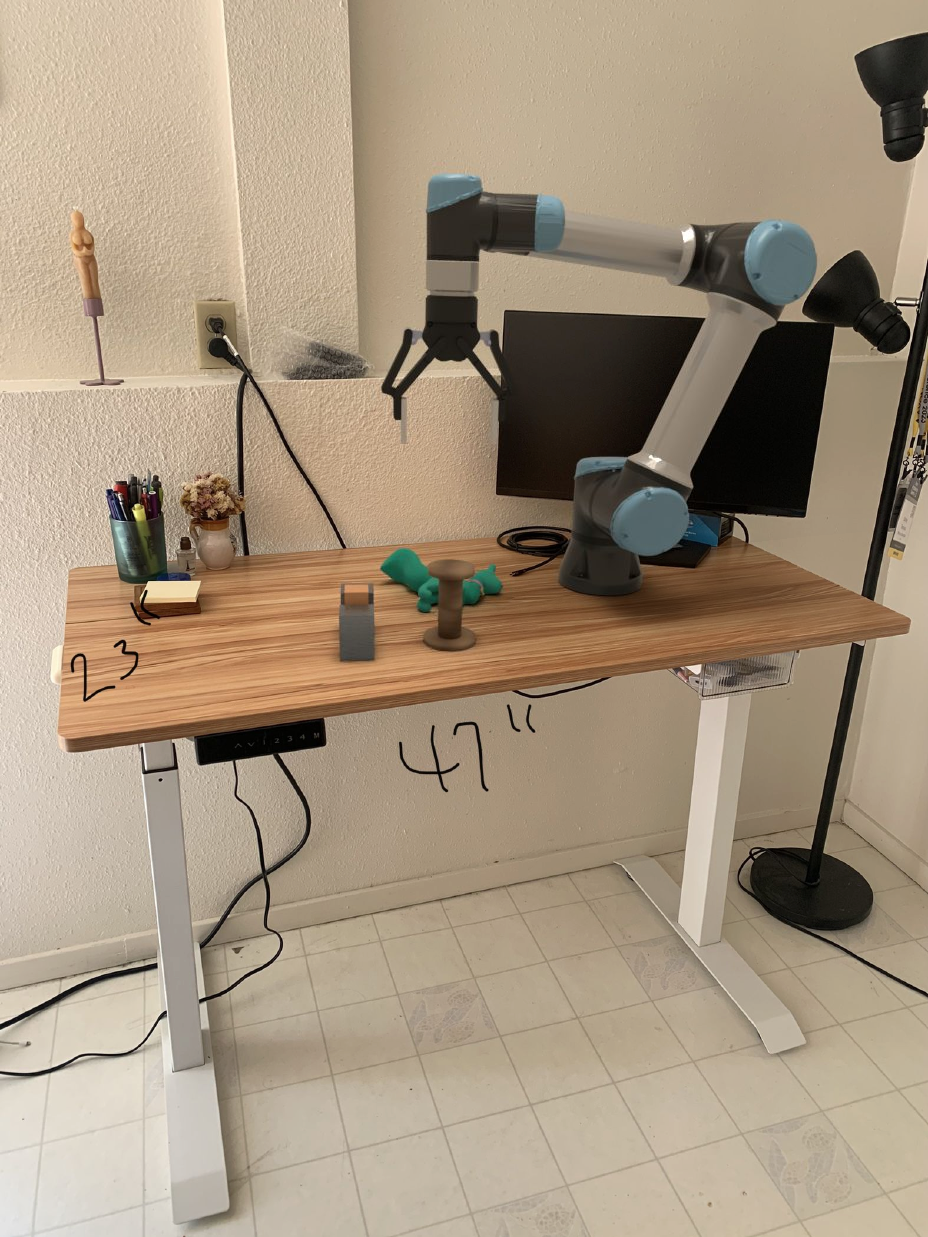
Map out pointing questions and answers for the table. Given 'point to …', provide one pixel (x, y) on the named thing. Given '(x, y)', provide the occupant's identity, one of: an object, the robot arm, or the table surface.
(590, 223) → the robot arm
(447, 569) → the bobbin
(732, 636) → the table surface
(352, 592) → the orange brown block
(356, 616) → the metal block
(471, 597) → the toy
